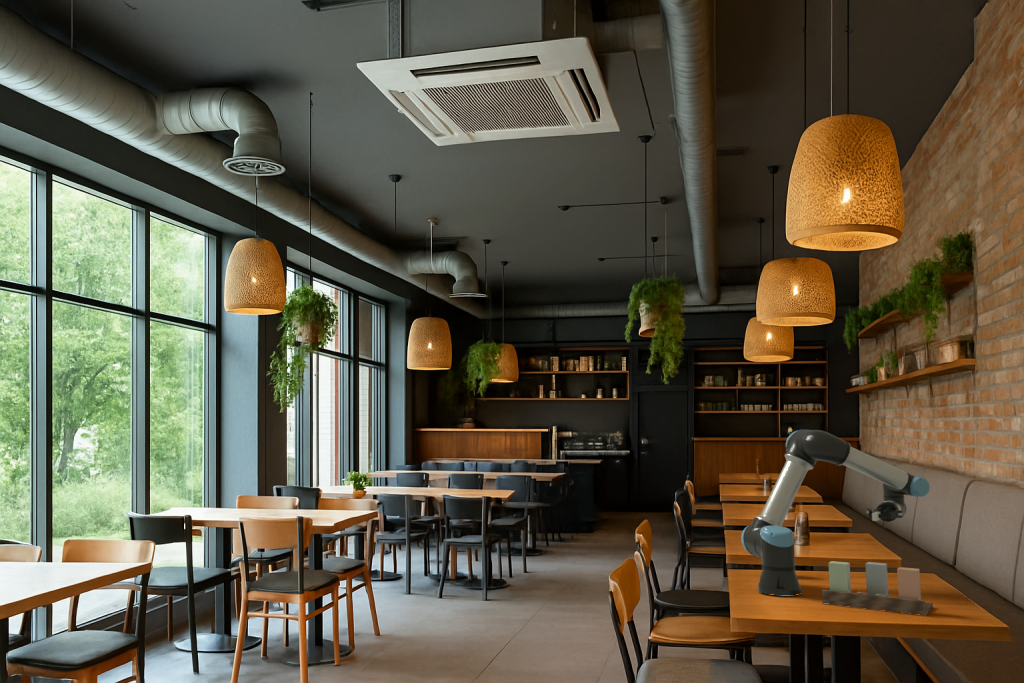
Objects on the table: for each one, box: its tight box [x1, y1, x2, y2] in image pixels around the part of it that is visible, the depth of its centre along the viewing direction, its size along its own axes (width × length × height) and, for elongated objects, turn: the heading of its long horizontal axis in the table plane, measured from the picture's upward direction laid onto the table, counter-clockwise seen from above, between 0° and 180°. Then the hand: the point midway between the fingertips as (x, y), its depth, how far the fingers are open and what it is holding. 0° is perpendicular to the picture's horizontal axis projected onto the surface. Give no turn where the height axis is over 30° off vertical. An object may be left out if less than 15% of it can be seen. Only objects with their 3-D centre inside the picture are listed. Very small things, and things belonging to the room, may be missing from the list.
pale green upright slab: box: [828, 560, 852, 593], centre depth 281 cm, size 6×4×12 cm, turn 54°
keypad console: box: [821, 589, 934, 616], centre depth 276 cm, size 32×14×5 cm, turn 53°
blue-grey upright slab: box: [865, 561, 890, 597], centre depth 278 cm, size 6×4×12 cm, turn 53°
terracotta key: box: [896, 566, 922, 600], centre depth 268 cm, size 6×4×12 cm, turn 53°
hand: (874, 517), depth 296 cm, fingers closed
